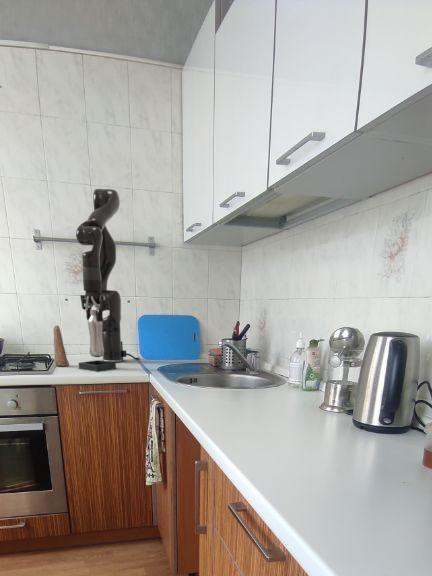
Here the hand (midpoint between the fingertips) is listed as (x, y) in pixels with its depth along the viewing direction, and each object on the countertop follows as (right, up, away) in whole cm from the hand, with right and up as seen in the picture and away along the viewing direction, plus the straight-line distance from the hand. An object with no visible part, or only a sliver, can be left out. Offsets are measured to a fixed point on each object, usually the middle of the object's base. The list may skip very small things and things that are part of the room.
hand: (94, 320), depth 205 cm
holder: (-1, -19, +8) cm, 21 cm away
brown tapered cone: (-19, -8, +9) cm, 22 cm away
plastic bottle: (0, -15, +6) cm, 16 cm away
